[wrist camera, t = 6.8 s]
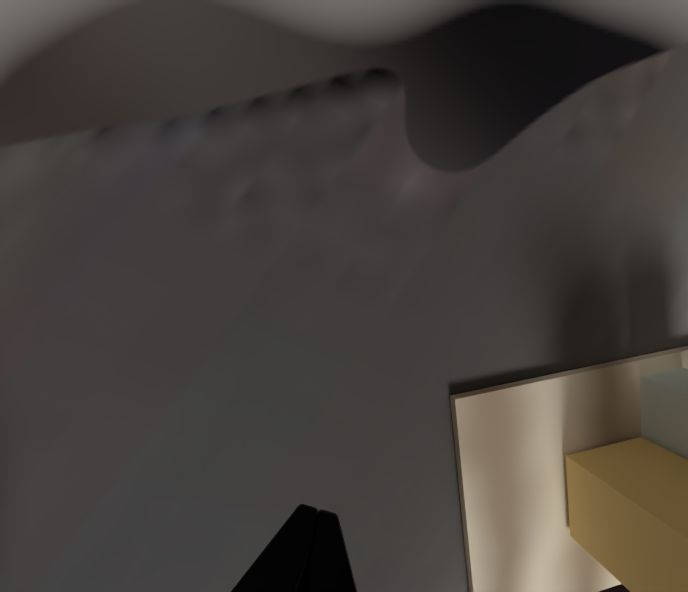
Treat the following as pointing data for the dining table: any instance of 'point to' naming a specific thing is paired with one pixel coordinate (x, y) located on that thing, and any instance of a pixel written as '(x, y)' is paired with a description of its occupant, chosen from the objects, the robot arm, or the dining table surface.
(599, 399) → the board
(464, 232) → the dining table surface
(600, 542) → the block
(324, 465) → the dining table surface
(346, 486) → the dining table surface
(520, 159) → the dining table surface
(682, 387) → the wall
